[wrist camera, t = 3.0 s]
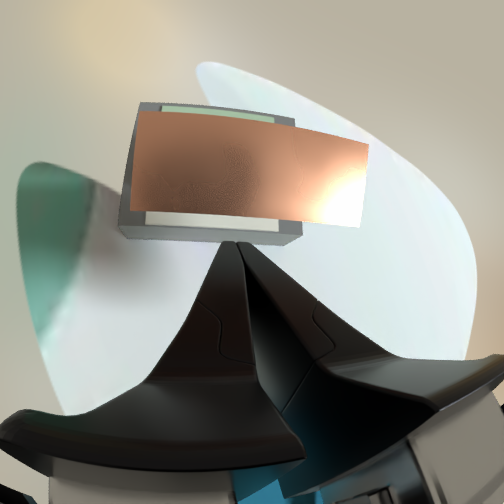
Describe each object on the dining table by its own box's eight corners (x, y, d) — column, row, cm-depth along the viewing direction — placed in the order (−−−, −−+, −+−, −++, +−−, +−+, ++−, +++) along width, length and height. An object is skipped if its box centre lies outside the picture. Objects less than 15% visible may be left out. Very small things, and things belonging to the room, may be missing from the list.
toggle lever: (266, 198, 15) (358, 226, 7) (161, 190, 14) (130, 210, 6) (271, 158, 15) (368, 144, 7) (165, 148, 14) (139, 111, 5)
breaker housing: (283, 245, 19) (328, 220, 13) (126, 238, 16) (104, 206, 11) (279, 140, 20) (313, 91, 15) (143, 128, 18) (137, 69, 12)
